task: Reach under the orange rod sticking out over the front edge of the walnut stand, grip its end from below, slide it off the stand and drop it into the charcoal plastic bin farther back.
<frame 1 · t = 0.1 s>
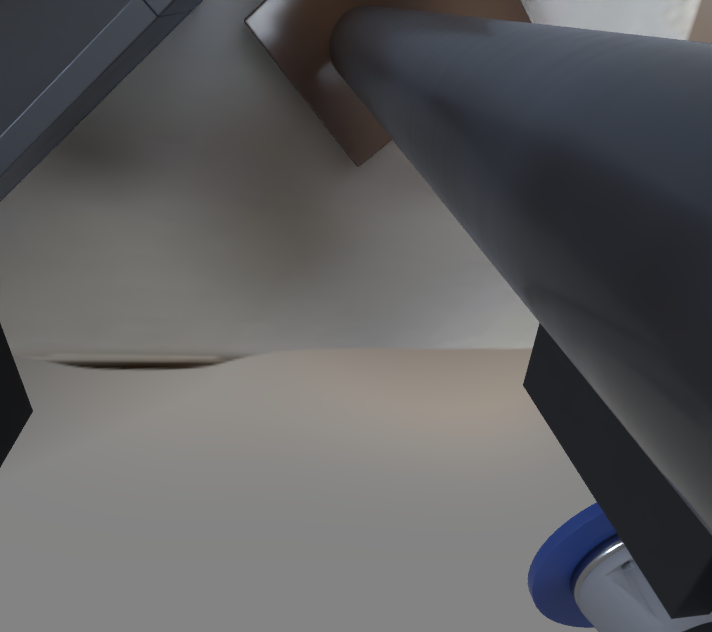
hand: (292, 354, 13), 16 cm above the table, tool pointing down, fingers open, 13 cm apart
stand: (389, 22, 23), on the table
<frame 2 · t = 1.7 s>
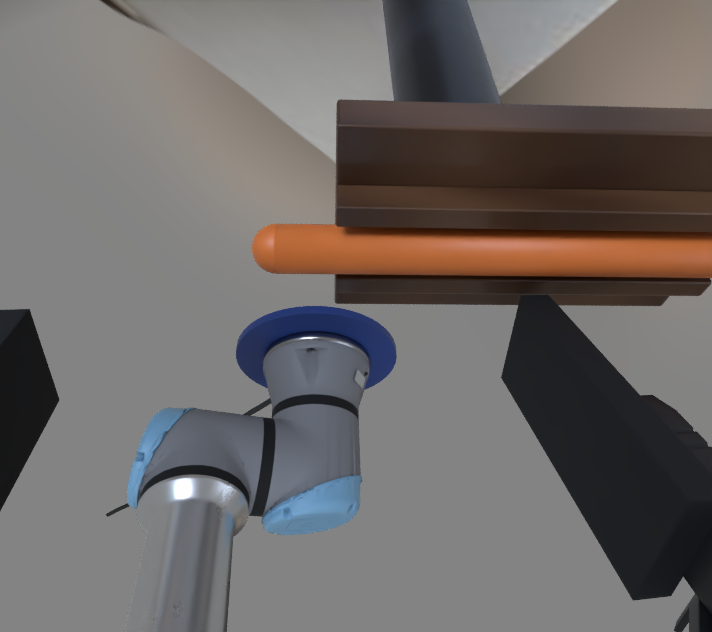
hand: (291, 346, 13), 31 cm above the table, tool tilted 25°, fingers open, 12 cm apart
orange rod: (645, 236, 13), point 29 cm above the table, touching stand
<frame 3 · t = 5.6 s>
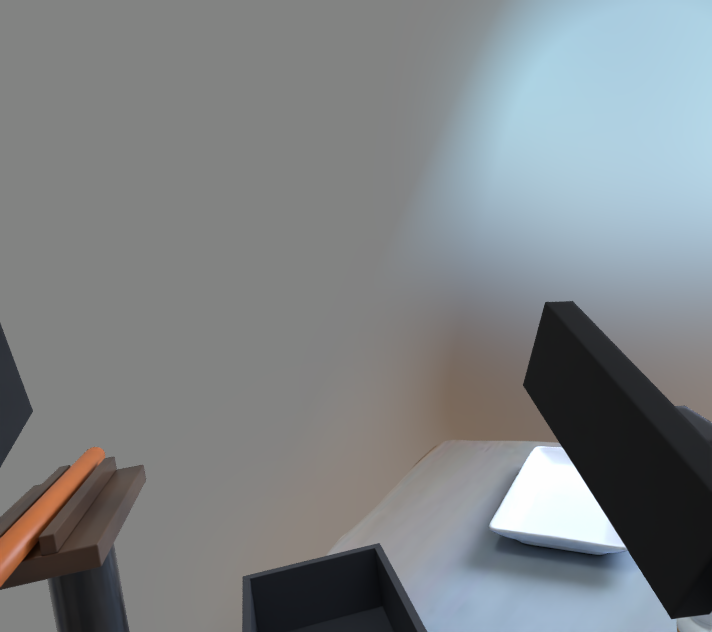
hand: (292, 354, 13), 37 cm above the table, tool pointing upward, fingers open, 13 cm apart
orange rod: (35, 538, 23), point 29 cm above the table, touching stand
tray: (573, 507, 78), on the table
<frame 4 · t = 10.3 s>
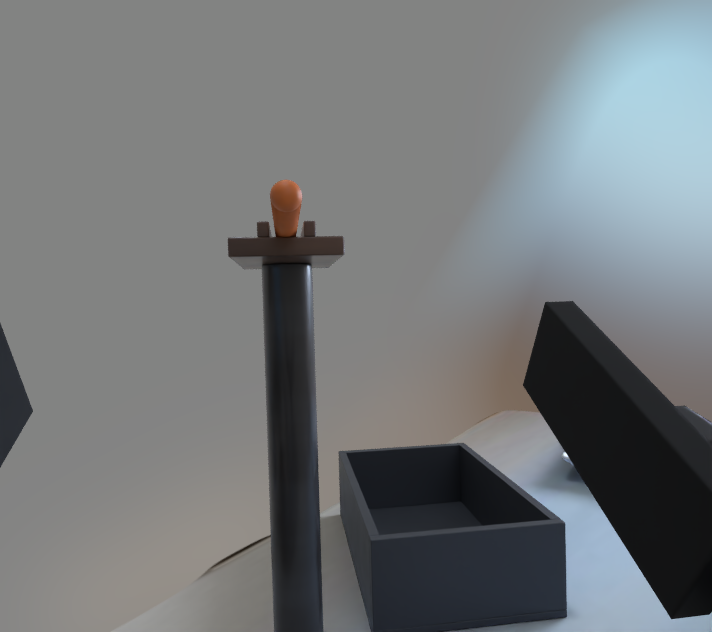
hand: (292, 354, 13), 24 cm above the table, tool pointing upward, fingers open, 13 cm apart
orange rod: (286, 241, 29), point 29 cm above the table, touching stand
bin: (430, 554, 52), on the table
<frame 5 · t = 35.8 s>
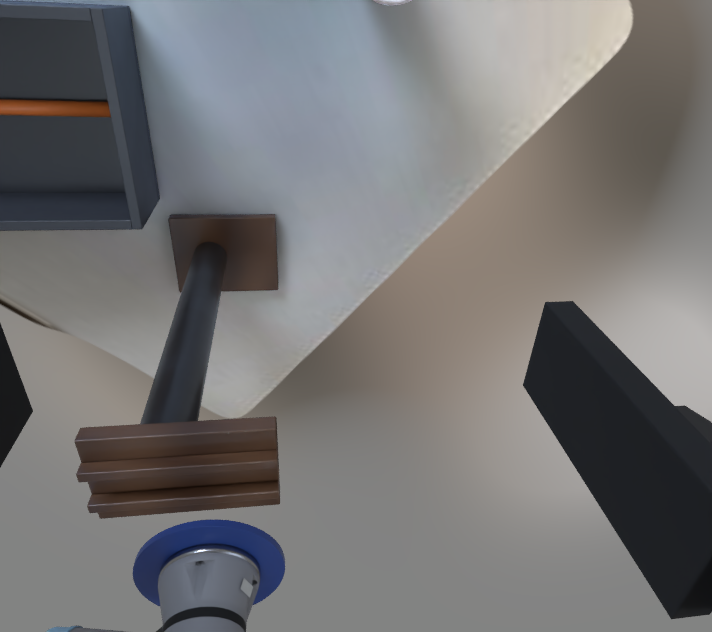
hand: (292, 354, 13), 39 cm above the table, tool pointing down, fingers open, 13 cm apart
stand: (226, 252, 53), on the table
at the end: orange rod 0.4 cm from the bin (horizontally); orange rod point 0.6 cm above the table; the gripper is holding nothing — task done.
